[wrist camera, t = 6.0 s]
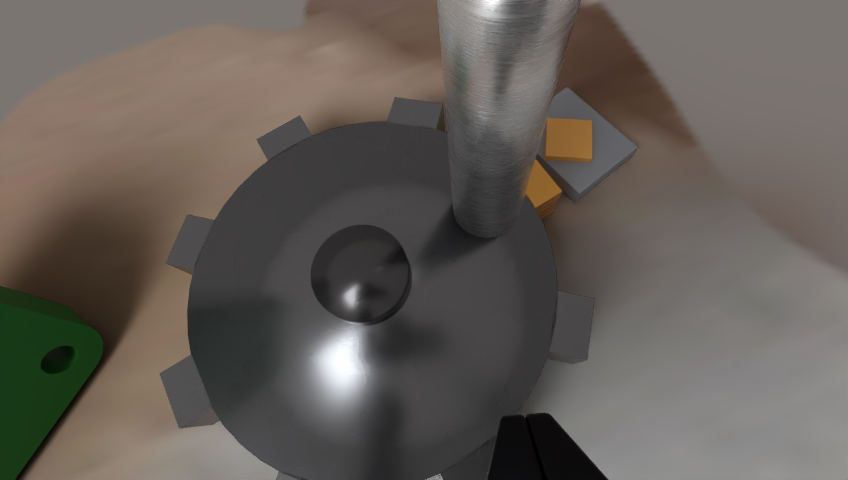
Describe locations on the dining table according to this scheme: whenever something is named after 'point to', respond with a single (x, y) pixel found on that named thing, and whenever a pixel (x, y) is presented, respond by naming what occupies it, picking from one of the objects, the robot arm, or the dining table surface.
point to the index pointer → (580, 145)
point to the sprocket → (390, 271)
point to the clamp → (38, 371)
